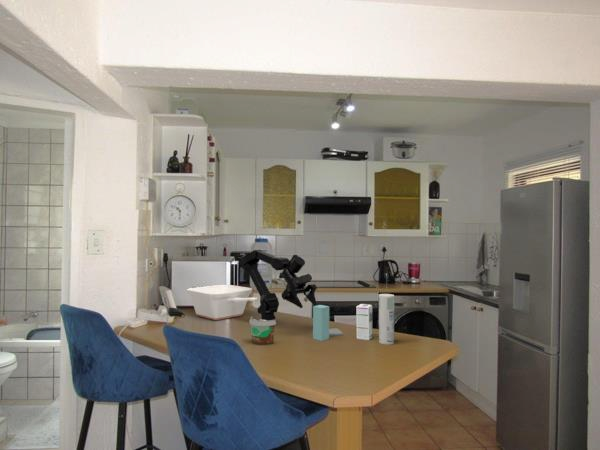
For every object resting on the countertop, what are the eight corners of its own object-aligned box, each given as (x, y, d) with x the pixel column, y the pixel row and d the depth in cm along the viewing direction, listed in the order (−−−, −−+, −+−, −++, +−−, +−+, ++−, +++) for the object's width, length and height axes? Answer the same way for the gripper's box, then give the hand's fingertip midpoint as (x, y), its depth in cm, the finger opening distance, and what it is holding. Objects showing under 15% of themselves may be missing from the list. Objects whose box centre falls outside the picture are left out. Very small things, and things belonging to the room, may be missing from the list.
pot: (225, 309, 246) (225, 284, 246) (276, 320, 216) (276, 292, 216) (182, 316, 225) (182, 288, 225) (232, 330, 195) (233, 298, 195)
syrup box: (369, 340, 178) (369, 306, 178) (356, 338, 180) (356, 305, 181) (372, 337, 183) (372, 304, 183) (359, 335, 186) (359, 303, 186)
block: (313, 338, 181) (313, 306, 181) (320, 336, 184) (320, 304, 184) (321, 340, 177) (321, 307, 177) (329, 338, 181) (329, 306, 181)
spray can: (390, 345, 170) (390, 296, 171) (375, 342, 174) (376, 295, 175) (396, 342, 176) (396, 294, 176) (382, 339, 180) (382, 293, 180)
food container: (243, 343, 172) (243, 319, 173) (251, 339, 178) (251, 316, 178) (268, 347, 167) (268, 322, 167) (276, 343, 172) (276, 319, 172)
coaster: (321, 336, 185) (321, 334, 185) (316, 330, 195) (316, 329, 195) (343, 335, 186) (343, 333, 186) (337, 330, 196) (337, 328, 196)
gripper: (286, 269, 183) (304, 297, 175) (314, 266, 196) (332, 292, 189) (273, 285, 188) (290, 313, 181) (302, 282, 202) (319, 307, 194)
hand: (309, 306), depth 186 cm, fingers open, 9 cm apart
